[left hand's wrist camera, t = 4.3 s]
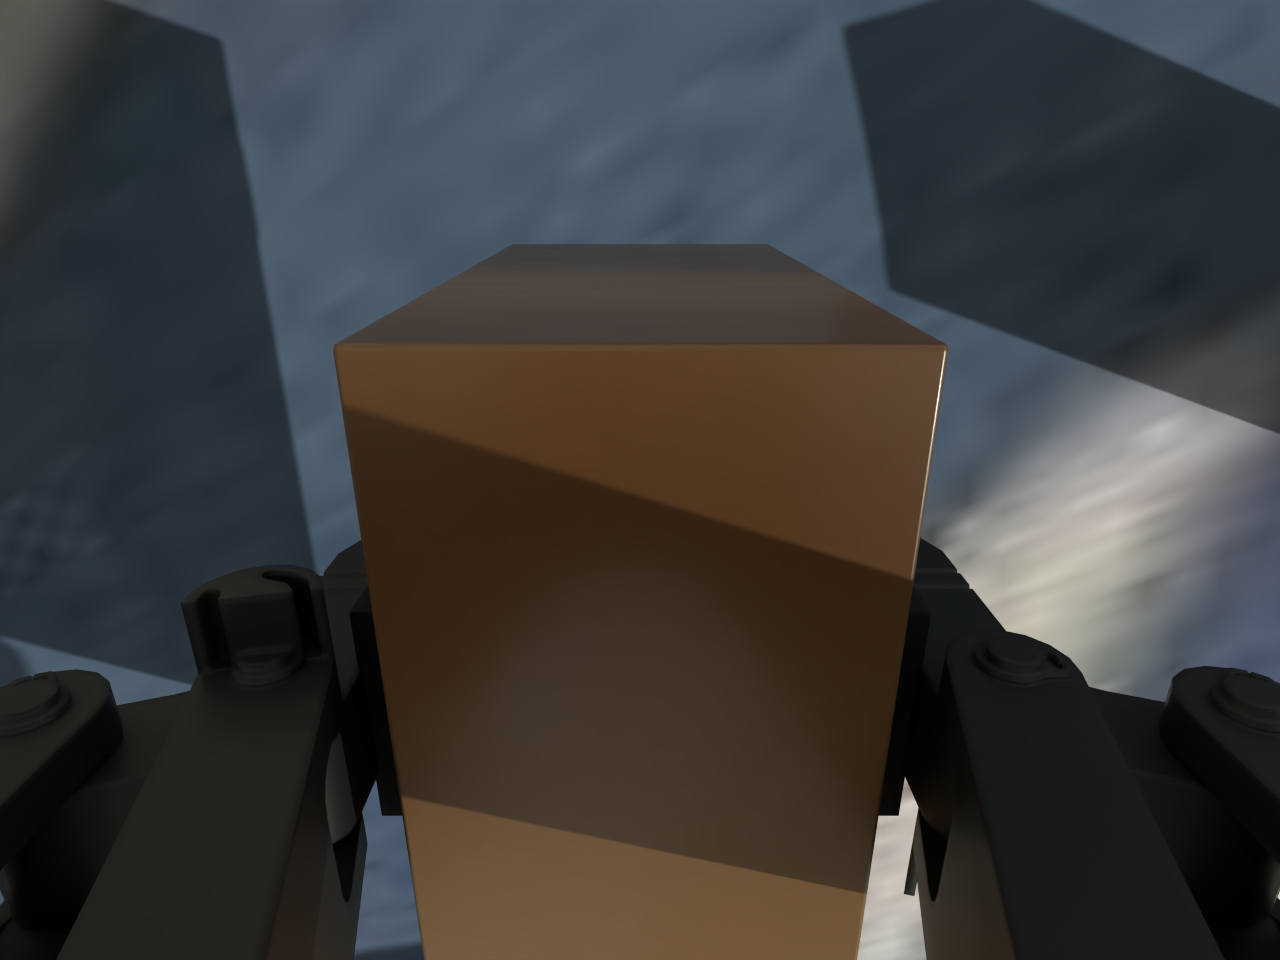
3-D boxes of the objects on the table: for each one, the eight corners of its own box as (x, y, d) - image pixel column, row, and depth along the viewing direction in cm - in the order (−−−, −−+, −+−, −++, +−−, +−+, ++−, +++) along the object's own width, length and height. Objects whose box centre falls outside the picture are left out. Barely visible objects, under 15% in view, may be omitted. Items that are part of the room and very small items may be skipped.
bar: (510, 244, 13) (330, 345, 6) (769, 243, 13) (951, 343, 6) (560, 1082, 22) (516, 1588, 14) (719, 1082, 22) (764, 1588, 14)
